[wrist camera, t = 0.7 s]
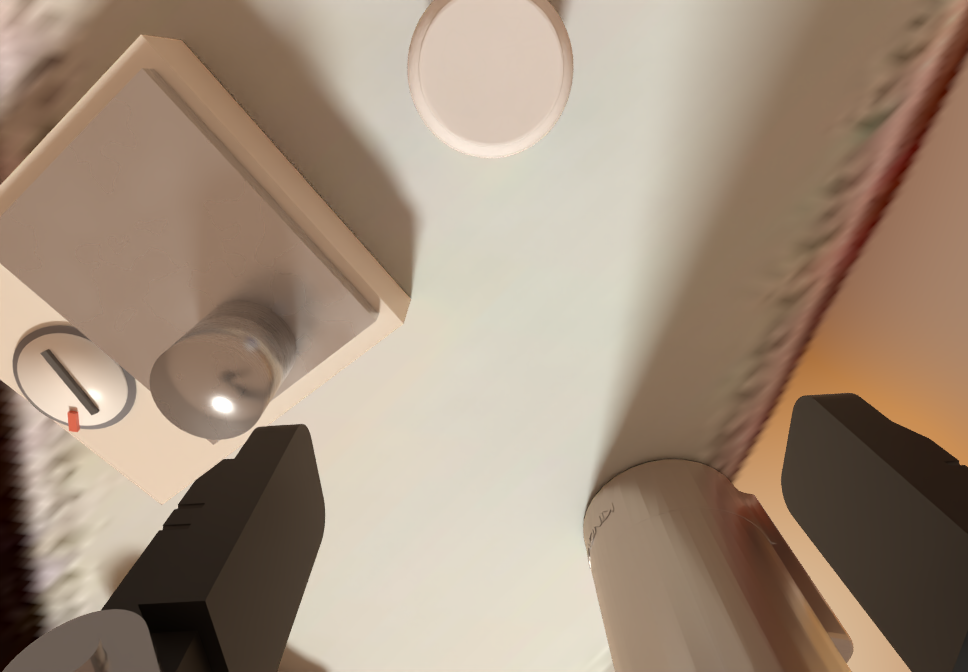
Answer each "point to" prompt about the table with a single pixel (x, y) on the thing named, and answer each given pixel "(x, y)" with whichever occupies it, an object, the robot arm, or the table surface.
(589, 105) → the table surface
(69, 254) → the scale pan
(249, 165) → the scale housing
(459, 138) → the pill bottle
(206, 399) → the cylinder
